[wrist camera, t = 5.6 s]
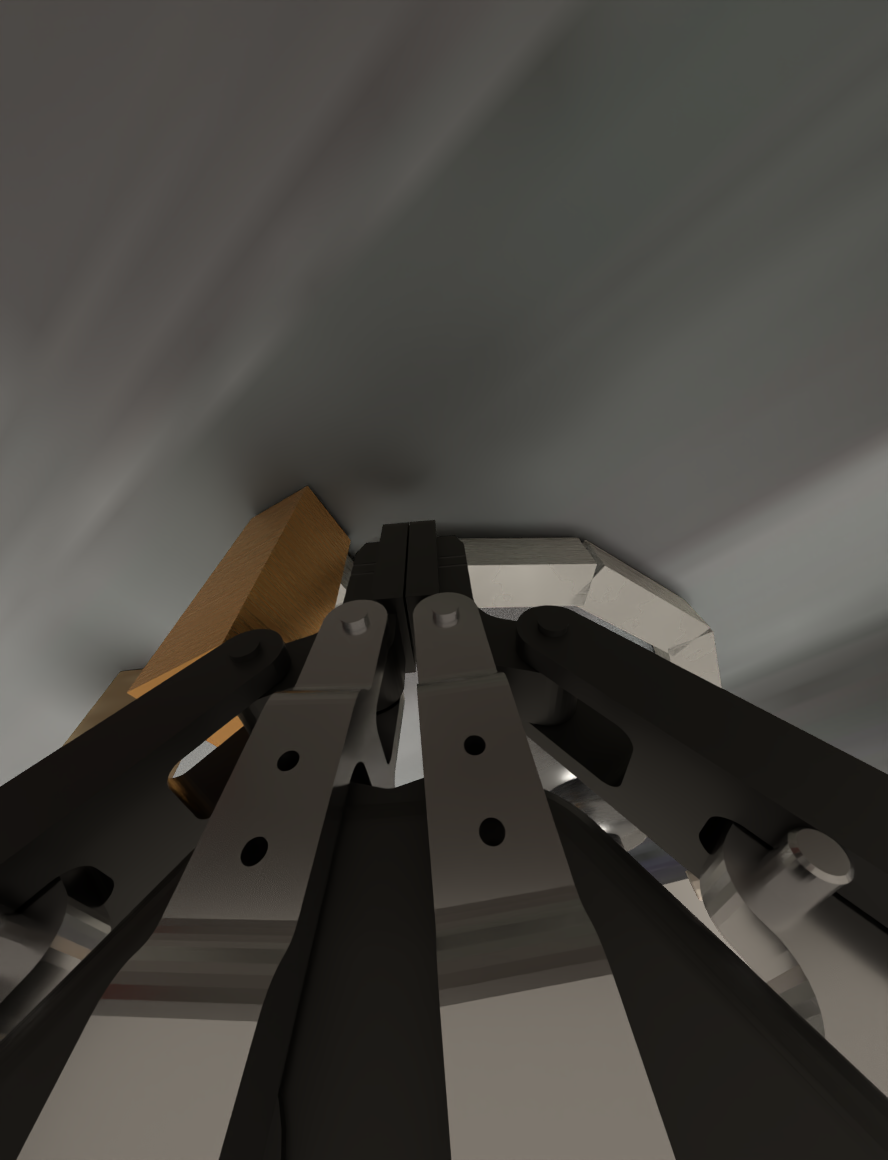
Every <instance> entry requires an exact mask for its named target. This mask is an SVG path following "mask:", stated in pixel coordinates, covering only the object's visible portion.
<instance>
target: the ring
mask: <svg viewBox="0 0 888 1160" xmlns="http://www.w3.org/2000/svg"><path fill="white" fill-rule="evenodd" d="M458 539H459V540H460V541H461V542H463V543H464V547H465V553H466V559H467V565H468V571H469V576H470V582H471V588H472V594H473V599H474V602H475V603H476V605H477V607H478V608H499V607H537V606H543V605H553V606H577V607H579V608H581V609H583V610H585V611H587V612H589V613H591V614H593V615H594V616H596V617H598V618H600V619H602V620H604V621H606V622H608V623H610V624H612V625H614V626H616V627H618V628H620V629H622V630H624V631H626V632H628V633H630V634H632V635H633V636H635V637H637V638H639V639H641V640H643V641H645V642H647V643H649V644H651V645H653V647H654V650H655V654H657V655H659V656H660V657H662V658H664V659H666V660H668V661H670V662H672V663H674V664H676V665H678V666H680V667H682V668H684V669H685V670H687V671H689V672H691V673H693V674H695V675H697V676H699V677H701V678H703V679H705V680H707V681H709V682H711V683H712V684H714V685H716V686H718V687H720V688H722V687H721V681H720V674H719V667H718V660H717V654H716V647H715V640H714V633H713V631H712V630H711V629H710V627H709V626H708V624H707V623H706V622H705V621H704V620H703V619H702V618H701V617H700V616H699V615H698V614H697V613H696V612H695V611H694V610H693V608H692V607H691V606H690V605H689V604H688V603H687V602H686V601H685V600H684V599H683V598H681V597H679V596H678V595H676V594H674V593H673V592H671V591H669V590H668V589H666V588H665V587H663V586H661V585H660V584H658V583H656V582H655V581H653V580H651V579H650V578H648V577H646V576H645V575H643V574H641V573H640V572H638V571H636V570H635V569H633V568H631V567H630V566H628V565H627V564H625V563H623V562H622V561H620V560H618V559H617V558H615V557H613V556H612V555H610V554H608V553H607V552H605V551H603V550H602V549H600V548H598V547H597V546H595V545H594V544H592V543H590V542H589V541H587V540H584V541H583V543H581V541H580V540H579V538H458ZM350 541H351V540H350V539H349V538H348V536H347V535H346V534H345V533H344V531H343V530H342V529H341V527H340V526H339V525H338V524H337V522H336V521H335V520H334V519H333V517H332V516H331V515H330V514H329V512H328V511H327V510H326V509H325V507H324V506H323V505H322V503H321V502H320V501H319V500H318V498H317V497H316V496H315V495H314V493H313V492H312V491H311V490H310V488H309V487H308V486H306V487H304V488H303V489H301V490H299V491H298V492H296V493H294V494H293V495H291V496H289V497H287V498H286V499H284V500H282V501H281V502H279V503H277V504H276V505H274V506H272V507H270V508H269V509H267V510H265V511H264V512H262V513H260V514H259V515H257V516H255V517H253V518H252V519H251V520H250V521H249V523H248V524H247V526H246V527H245V528H244V530H243V531H242V532H241V534H240V535H239V537H238V538H237V539H236V541H235V542H234V544H233V545H232V546H231V548H230V549H229V551H228V552H227V553H226V555H225V556H224V558H223V559H222V560H221V562H220V563H219V565H218V566H217V567H216V569H215V570H214V572H213V573H212V574H211V576H210V577H209V578H208V580H207V581H206V583H205V584H204V585H203V587H202V588H201V590H200V591H199V592H198V594H197V595H196V597H195V598H194V599H193V601H192V602H191V604H190V605H189V606H188V608H187V609H186V611H185V612H184V613H183V615H182V616H181V617H180V619H179V620H178V622H177V623H176V624H175V626H174V627H173V629H172V630H171V631H170V633H169V634H168V636H167V637H166V638H165V640H164V641H163V643H162V644H161V645H160V647H159V648H158V650H157V651H156V652H155V654H154V655H153V656H152V658H151V659H150V661H149V662H148V663H147V665H146V666H145V668H144V669H143V670H142V672H141V673H140V675H139V676H138V677H137V679H136V680H135V682H134V683H133V684H132V686H131V687H130V689H129V690H128V691H127V693H128V694H129V695H131V696H133V697H134V698H136V699H137V698H139V697H140V696H142V695H143V694H145V693H147V692H148V691H150V690H151V689H153V688H154V687H156V686H157V685H159V684H161V683H162V682H164V681H165V680H167V679H168V678H170V677H171V676H173V675H175V674H176V673H178V672H179V671H181V670H182V669H184V668H185V667H187V666H188V665H190V664H192V663H193V662H195V661H196V660H198V659H199V658H201V657H202V656H204V655H206V654H207V653H209V652H210V651H212V650H213V649H215V648H216V647H218V646H220V645H221V644H223V643H224V642H226V641H227V640H229V639H231V638H232V637H234V636H236V635H238V634H241V633H244V632H246V631H250V630H255V629H270V630H273V631H276V632H277V633H279V634H280V635H281V637H282V639H283V641H284V644H285V643H288V642H291V641H294V640H298V639H301V638H304V637H307V636H310V635H313V634H315V633H317V632H319V629H320V627H321V625H322V622H323V620H324V619H325V617H326V616H327V614H328V613H329V612H331V611H332V610H333V609H334V608H336V607H338V606H340V605H342V604H343V601H344V597H345V593H346V590H347V586H348V582H349V579H350V576H351V571H352V568H353V566H354V565H353V564H354V562H353V561H352V560H351V558H350V557H349V556H348V555H347V554H348V550H349V545H350ZM243 726H244V725H243V724H242V722H241V720H240V719H239V717H238V716H236V717H235V718H233V719H232V720H231V721H229V722H228V723H227V724H226V725H224V726H223V727H222V728H221V729H219V730H218V731H217V732H216V733H214V734H213V735H212V736H210V737H209V738H208V739H207V740H206V741H208V742H210V743H211V744H213V745H215V746H216V747H218V746H219V745H221V744H222V743H223V742H224V741H226V740H227V739H228V738H229V737H230V736H232V735H233V734H234V733H235V732H237V731H238V730H239V729H240V728H241V727H243Z"/></svg>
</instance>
